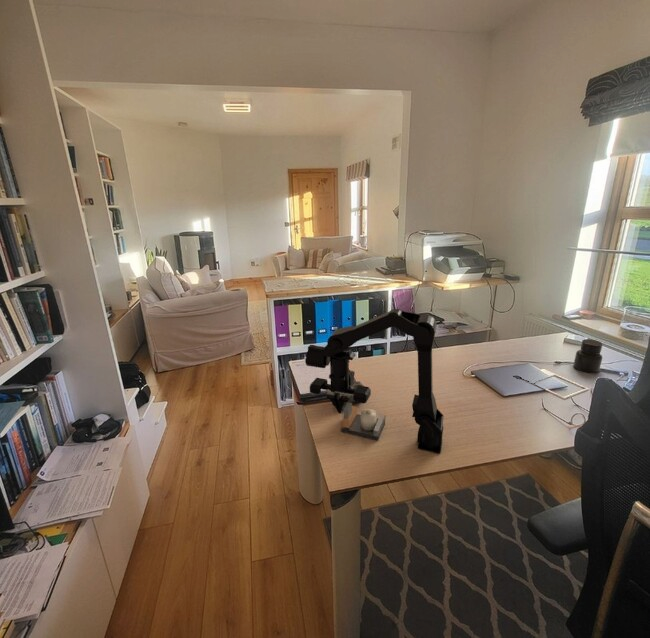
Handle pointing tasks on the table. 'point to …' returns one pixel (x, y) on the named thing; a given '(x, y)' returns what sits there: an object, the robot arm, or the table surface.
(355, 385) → the pipe fitting
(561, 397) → the photo frame
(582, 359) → the ink bottle
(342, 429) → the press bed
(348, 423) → the tan and grey slab
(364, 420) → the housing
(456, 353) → the table surface
